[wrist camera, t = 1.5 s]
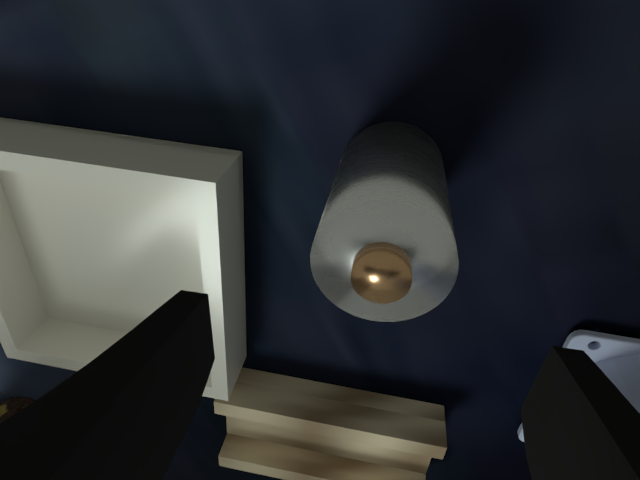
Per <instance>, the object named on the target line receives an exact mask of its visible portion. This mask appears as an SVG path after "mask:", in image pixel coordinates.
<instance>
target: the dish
mask: <svg viewBox="0 0 640 480" xmlns="http://www.w3.org/2000/svg"><path fill="white" fill-rule="evenodd" d="M181 290H185V291H192V292H198V293H205V294H208V298H209V308H210V317H211V326H212V336H213V345H214V354H215V360H214V363H213V366H212V369H211V372H210V375H209V378H208V381H207V384H206V386H205V389H204V392H203V395H202V396H205V397H210V398H215V399H220V400H225V401H229V398H230V396H231V393H232V391H233V388H234V386H235V383H236V381H237V378H238V376H239V373H240V371H241V369H242V366H243V364H244V361H245V359H246V356H247V351H246V302H245V253H244V204H243V155H242V151H237V150H230V149H223V148H216V147H209V146H202V145H194V144H187V143H180V142H173V141H166V140H159V139H152V138H145V137H137V136H130V135H123V134H116V133H109V132H102V131H95V130H88V129H80V128H73V127H66V126H59V125H52V124H45V123H38V122H31V121H23V120H16V119H9V118H2V117H0V343H1V345H2V347H3V349H4V351H5V354H6V356H7V357H8V358H13V359H18V360H23V361H28V362H33V363H38V364H43V365H48V366H53V367H58V368H63V369H68V370H73V371H78V370H80V369H81V368H83V367H84V366H85V365H87V364H88V363H90V362H91V361H92V360H94V359H95V358H96V357H97V356H99V355H100V354H101V353H103V352H104V351H105V350H106V349H108V348H109V347H110V346H112V345H113V344H114V343H115V342H117V341H118V340H119V339H121V338H122V337H123V336H124V335H126V334H127V333H128V332H130V331H131V330H132V329H133V328H135V327H136V326H137V325H138V324H139V323H141V322H142V321H143V320H144V319H146V318H147V317H148V316H149V315H151V314H152V313H153V312H154V311H155V310H157V309H158V308H159V307H160V306H162V305H163V304H164V303H165V302H167V301H168V300H169V299H170V298H172V297H173V296H174V295H175V294H177V293H178V292H179V291H181Z"/></svg>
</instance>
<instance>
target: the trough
mask: <svg viewBox="0 0 640 480" xmlns="http://www.w3.org/2000/svg"><path fill="white" fill-rule="evenodd" d="M214 411H215V414H219V415H224V416H226V423H227V435H226V438H225V440H224V443H223V445H222V448H221V451H220V453H219V456H218V458H219V466H223V467H227V468H232V469H237V470H241V471H246V472H251V473H255V474H260V475H265V476H269V477H274V478H279V479H284V480H426V476H425V474H426V471H427V469H428V466H429V463H430V461H431V458H437V459H442V460H443V457H444V455H445V452H446V450H447V440H446V426H445V413H444V406H443V405H438V404H433V403H428V402H422V401H417V400H412V399H407V398H401V397H396V396H391V395H385V394H380V393H375V392H370V391H364V390H359V389H354V388H349V387H343V386H338V385H333V384H327V383H322V382H317V381H312V380H306V379H301V378H296V377H291V376H285V375H280V374H275V373H270V372H264V371H259V370H254V369H248V368H243V367H242V369H241V371H240V373H239V376H238V378H237V381H236V383H235V386H234V388H233V391H232V393H231V396H230V398H229V401H225V400H220V399H215V400H214Z"/></svg>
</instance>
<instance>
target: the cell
mask: <svg viewBox="0 0 640 480" xmlns="http://www.w3.org/2000/svg"><path fill="white" fill-rule="evenodd" d="M310 264H311V271H312V274H313V277H314V279H315V281H316V283H317V285H318V287H319V288H320V290H321V291H322V293H323V294H324V295H325V296H326V297H327V298H328V299H329V300H330V301H331V302H332V303H333V304H335V305H336V306H337V307H339V308H340V309H342V310H344V311H346V312H347V313H350V314H352V315H354V316H357V317H360V318H363V319H367V320H372V321H380V322H395V321H403V320H408V319H411V318H415V317H418V316H420V315H423V314H425V313H427V312H428V311H430V310H432V309H433V308H435V307H436V306H437V305H439V304H440V303H441V302H442V301H443V300H444V299H445V298H446V297H447V295H448V294H449V293H450V291H451V289H452V288H453V286H454V283H455V281H456V278H457V274H458V264H459V263H458V254H457V248H456V241H455V235H454V228H453V222H452V216H451V209H450V203H449V196H448V190H447V184H446V177H445V171H444V165H443V159H442V155H441V152H440V150H439V148H438V146H437V145H436V143H435V142H434V140H433V139H432V138H431V137H430V136H429V135H428V134H427V133H426V132H424V131H423V130H421V129H420V128H418V127H416V126H414V125H411V124H408V123H403V122H396V121H389V122H381V123H377V124H374V125H371V126H369V127H367V128H365V129H363V130H362V131H360V132H359V133H358V134H357V135H355V136H354V137H353V138H352V140H351V141H350V142H349V143H348V145H347V146H346V148H345V150H344V152H343V155H342V158H341V161H340V164H339V167H338V170H337V173H336V176H335V179H334V182H333V185H332V188H331V191H330V194H329V197H328V200H327V203H326V206H325V209H324V212H323V215H322V217H321V220H320V223H319V226H318V229H317V232H316V235H315V238H314V241H313V244H312V247H311V254H310Z"/></svg>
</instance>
